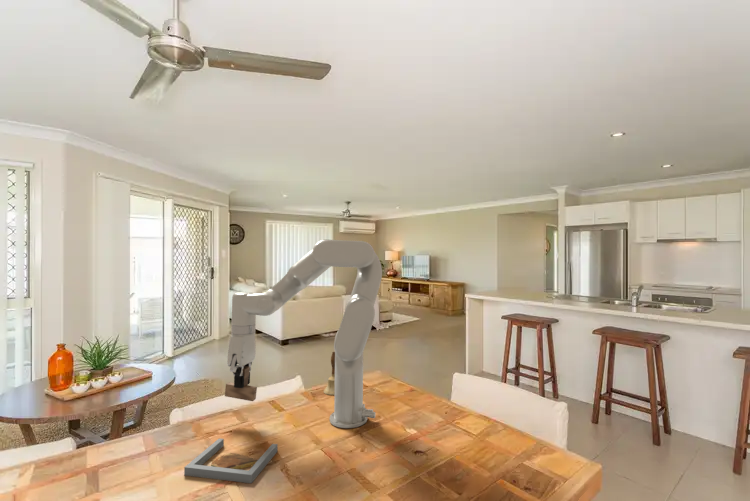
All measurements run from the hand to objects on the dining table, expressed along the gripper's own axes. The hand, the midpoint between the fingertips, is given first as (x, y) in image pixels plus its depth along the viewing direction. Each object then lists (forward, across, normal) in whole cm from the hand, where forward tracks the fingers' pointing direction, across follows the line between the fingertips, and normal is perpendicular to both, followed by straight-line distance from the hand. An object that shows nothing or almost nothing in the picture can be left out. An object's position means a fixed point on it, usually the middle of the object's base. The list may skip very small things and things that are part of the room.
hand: (242, 385), depth 118 cm
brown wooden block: (+4, 0, 0) cm, 4 cm away
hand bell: (+12, -32, +22) cm, 41 cm away
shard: (+13, +21, +11) cm, 27 cm away
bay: (+12, +22, +10) cm, 27 cm away
